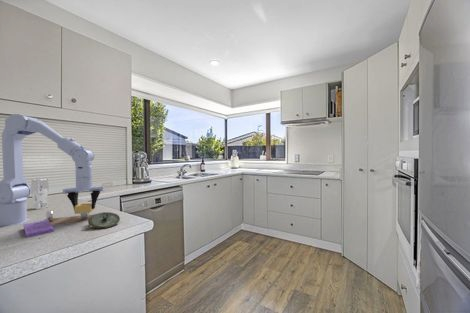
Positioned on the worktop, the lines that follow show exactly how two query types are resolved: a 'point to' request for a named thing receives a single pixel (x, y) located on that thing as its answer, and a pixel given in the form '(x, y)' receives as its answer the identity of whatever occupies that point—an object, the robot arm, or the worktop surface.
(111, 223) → the lid
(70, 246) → the worktop surface
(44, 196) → the beer glass
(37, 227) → the sponges
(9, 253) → the worktop surface
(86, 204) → the collar
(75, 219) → the stand board
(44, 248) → the worktop surface
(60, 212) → the worktop surface
